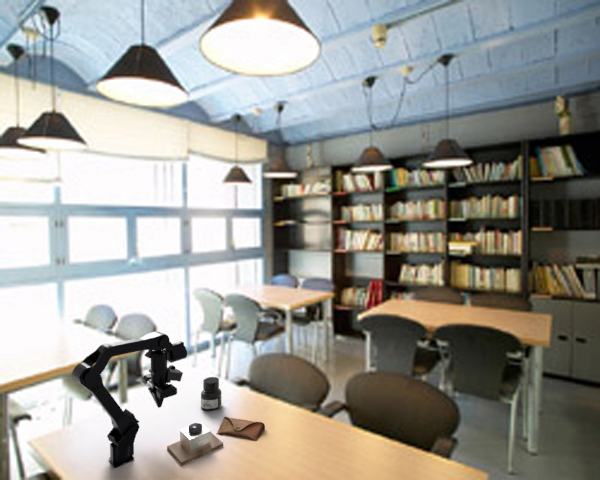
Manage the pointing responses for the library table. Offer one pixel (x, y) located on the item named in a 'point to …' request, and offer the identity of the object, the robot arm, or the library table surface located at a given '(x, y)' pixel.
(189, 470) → the library table surface
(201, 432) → the block
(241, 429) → the sunglasses case
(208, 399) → the ink bottle
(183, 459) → the walnut board
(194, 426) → the plunger
